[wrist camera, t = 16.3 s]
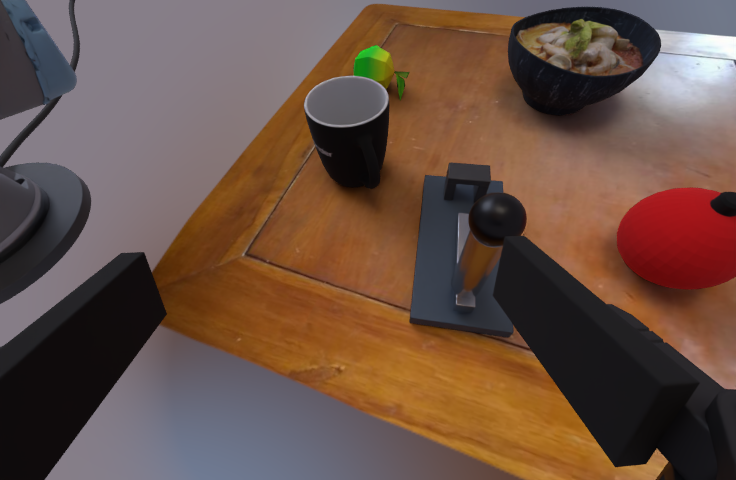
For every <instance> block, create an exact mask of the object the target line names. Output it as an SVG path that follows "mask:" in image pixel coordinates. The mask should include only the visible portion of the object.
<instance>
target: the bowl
mask: <svg viewBox="0 0 736 480" xmlns="http://www.w3.org/2000/svg"><path fill="white" fill-rule="evenodd" d="M660 48H661V40H660V37H659V34H658V33H657V32H656V30H655V29H654V28H652V27H651V26H650V25H649V24H648V23H646V22H645V21H644V20H642V19H640V18H639V17H637V16H634V15H632V14H629V13H626V12H623V11H620V10H615V9H609V8H602V7H573V8H562V9H556V10H549V11H545V12H541V13H537V14H534V15H531V16H528V17H525V18H523V19H521V20H520V21H518V22H516V23H515V24H514V25H513V26H512V29H511V34H510V38H509V44H508V59H509V65H510V69H511V72H512V74H513V76H514V79H515V81H516V82H517V84H518V85H519V87H520V88H521V89H522V92H523V96H524V99H525V101H526V102H527V104H529V105H530V106H531V107H533V108H534V109H536V110H538V111H540V112H543V113H547V114H552V115H567V114H572V113H575V112H577V111H579V110H580V109H582V108H583V107H585V106H587V105H591V104H594V103H597V102H599V101H602V100H604V99H606V98H609V97H611V96H613V95H615V94H617V93H619V92H621V91H622V90H623V89H625V88H626V87H627V86H629V85H630V84H631V83H633V82H634V81H635V80H637V79H638V78H639V77H640V76H642V75H643V73H644V72H645V71H646V70H647V69H648V67H649V66H650V65H651V64H652V62H653V61H654V60H655V58H656V57H657V56H658V53H659V51H660Z"/></svg>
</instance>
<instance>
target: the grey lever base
mask: <svg viewBox="0 0 736 480" xmlns="http://www.w3.org/2000/svg"><path fill="white" fill-rule="evenodd" d="M497 192H499V193H503V182H502V181H491V177H490V166H488V165H475V164H462V163H449V166H448V170H447V175H446V177H443V176H431V175H425V180H424V189H423V198H422V208H421V218H420V227H419V237H418V246H417V256H416V265H415V275H414V285H413V294H412V304H411V313H410V323H414V324H421V325H428V326H434V327H441V328H448V329H455V330H461V331H468V332H475V333H482V334H488V335H495V336H502V337H509V336H510V335H512V334H513V332H514V331H513V324H512V322H511V321H510V319H509V318H508V317H507V315H506V314H505V312H504V311H503V310H502V308H501V307H500V305H499V304H498V303H497V301H496V300H495V298H494V297H493V291H494V286H495V281H496V276H497V271H498V267H499V262H500V258H499V260H498V262H497V263H496V265H495V267H494V269H493V270H492V272H491V274H490V275H489V277H488V279H487V281H486V282H485V284H484V286H483V287H482V289H481V291H480V293H479V294H478V295H477V296H475V308H474V310H473V311H472V313H465V312H457V311H453V300H454V290H453V288H452V286H451V280H452V277H453V274H454V267H455V234H456V220H457V216H458V213H466V214H469V213H470V210H471V208H472V206H473V205H474V203H475V202H476V201H477V200H478V199H480V198H481V197H483V196H485V195H487V194H490V193H497Z"/></svg>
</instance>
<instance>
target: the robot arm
mask: <svg viewBox="0 0 736 480" xmlns="http://www.w3.org/2000/svg"><path fill="white" fill-rule="evenodd" d="M74 3H75V0H70V2H69V14H70V21H71V25H72V31H73V37H74V51H73V57H72V61H71V64H70V65H69V63H68V62H67V60H66V59H65V57H64V56H63V54H62V53H61V51H60V50H59V48H58V47H57V46H56V44H55V43H54V41H53V40H52V38H51V37H50V35H49V34H48V32H47V31H46V30H45V28H44V27H43V25H42V24H41V22H40V21H39V19H38V18H37V16H36V15H35V14H34V12H33V11H32V9H31V8H30V6H29V5H28V4H27V2H26V1H25V0H0V119H3V118H6V117H9V116H12V115H15V114H18V113H20V112H23V111H26V110H29V109H32V108H34V107H37V106H40V105H45V104H47V105H46V106H45V107H44V108H43V109H42V111H41V112H40V113H39V114H38V115H37V116H36V117H35V118H34V119H33V121H31V122H30V123H29V125H28V126H27V127H26V128H25V129H24V130H23V131H22V132H21V133H20V134H19V135H18V136H17V137H16V138H15V139H14V140H13V141H12V143H11V144H10V145H9V146H8V147H7V148H6V150H5V151H4V152H3V153H2V154H1V156H0V264H1V263H2V262H4V261H5V260H7V259H8V258H9V257H11V256H12V255H13V254H15V253H16V252H17V251H18V250H19V249H21V248H22V247H23V246H24V245H25V244H26V243H27V242H28V241H29V240H30V239H31V238H32V237H33V236H34V234H35V233H36V232H37V231H38V229H39V228H40V226H41V225H42V223H43V221H44V220H45V218H46V215H47V212H48V209H49V198H48V195H47V193H46V192H45V191H44V190H43V189H42V188H41V187H40V186H38V185H37V184H36V183H34V182H33V181H31V180H30V179H29V178H27V177H25V176H23V175H20V174H18V173H15V172H13V171H10V170H8V169H5V168H3V166H4V165H5V164H6V162H7V161H8V160H9V158H10V157H11V156H12V155H13V153H14V152H15V151H16V150H17V148H18V147H19V146H20V145H21V143H22V142H23V141H24V140H25V139H26V138H27V137H28V136H29V135H30V134H31V133H32V132H33V131H34V130H35V128H36V127H37V126H38V125H39V124H40V123H41V122H42V121H43V120H44V119H45V118H46V117H47V115H48V114H49V113H50V112H51V110H52V109H53V108H54V107H55V105H56V104H57V102H58V101H59V99H60V98H61V97H62V95H63V94H65V93H67V92H69V91H71V90H72V89H74V87H75V85H76V82H77V79H76V75H75V69H76V66H77V63H78V59H79V52H80V41H79V35H78V30H77V25H76V21H75V15H74ZM493 297H494V298H495V300H496V301H497V303H498V304H499V305H500V307H501V308H502V310H503V311H504V312H505V314H506V315H507V317H508V318H509V319H510V321H511V322H512V324H513V325H514V326H515V328H516V329H517V331H518V332H519V333H520V335H521V336H522V337H523V339H524V340H525V342H526V343H527V344H528V346H529V347H530V349H531V350H532V351H533V353H534V354H535V356H536V357H537V358H538V360H539V361H540V363H541V364H542V365H543V367H544V368H545V370H546V371H547V372H548V374H549V375H550V377H551V378H552V379H553V381H554V382H555V384H556V385H557V386H558V388H559V389H560V391H561V392H562V393H563V395H564V396H565V398H566V399H567V400H568V402H569V403H570V405H571V406H572V407H573V409H574V410H575V412H576V413H577V414H578V416H579V417H580V419H581V420H582V421H583V423H584V424H585V426H586V427H587V428H588V430H589V431H590V432H591V434H592V435H593V437H594V438H595V439H596V441H597V442H598V444H599V445H600V446H601V448H602V449H603V451H604V452H605V453H606V455H607V456H608V458H609V459H610V460H611V462H612V463H613V465H614V466H615V467H621V466H631V465H641V464H646V463H647V462H648V460H649V459H650V457H651V456H652V454H653V453H654V451H655V450H656V448H657V449H658V450H659V451H660V452H661V453H662V454H663V455H664V457H665V458H666V459H667V460H668V461H669V462H668V463H667V465H666V466H665V467H664V469H663V470H662V472H661V473H660V474H659V476H658V477H657V479H656V480H736V390H734V389H724V388H723V387H722V386H720V385H719V384H718V383H717V382H715V381H714V380H713V379H712V378H710V377H709V376H708V375H707V374H705V373H704V372H703V371H702V370H700V369H699V368H698V367H697V366H695V365H694V364H693V363H692V362H690V361H689V360H688V359H687V358H685V357H684V356H683V355H682V354H680V353H679V352H678V351H677V350H675V349H674V348H673V347H672V346H670V345H669V344H668V343H664V342H663V339H661V338H660V337H659V336H658V335H656V334H655V333H654V332H653V331H649V328H648V327H646V326H645V325H644V324H643V323H641V322H640V321H639V320H638V319H636V318H635V317H634V316H633V315H631V314H629V313H627V312H625V311H623V310H622V309H620V308H618V307H616V306H614V305H612V304H605V303H604V302H603V301H602V300H601V299H599V298H598V297H597V296H596V295H595V294H593V293H592V292H591V291H590V290H589V289H587V288H586V287H585V286H584V285H583V284H581V283H580V282H579V281H578V280H577V279H575V278H574V277H573V276H572V275H571V274H569V273H568V272H567V271H566V270H565V269H563V268H562V267H561V266H560V265H559V264H557V263H556V262H555V261H554V260H553V259H551V258H550V257H549V256H548V255H547V254H545V253H544V252H543V251H542V250H541V249H539V248H538V247H537V246H536V245H535V244H533V243H532V242H531V241H530V240H529V239H527V238H526V237H525V236H505V238H504V242H503V247H502V252H501V257H500V262H499V267H498V271H497V276H496V281H495V286H494V291H493ZM166 315H167V313H166V310H165V308H164V305H163V302H162V300H161V297H160V294H159V291H158V289H157V286H156V283H155V281H154V278H153V275H152V272H151V270H150V267H149V264H148V262H147V259H146V256H145V254H144V252H137V253H121V254H120V255H118V256H117V257H116V258H114V259H113V260H112V261H111V262H110V263H108V264H107V265H106V266H104V267H103V268H102V269H101V270H99V271H98V272H97V273H96V274H94V275H93V276H92V277H90V278H89V279H88V280H87V281H85V282H84V283H83V284H82V285H80V286H79V287H78V288H77V289H75V290H74V291H73V292H71V293H70V294H69V295H68V296H66V297H65V298H64V299H63V300H61V301H60V302H59V303H58V304H56V305H55V306H54V307H52V308H51V309H50V310H49V311H47V312H46V313H45V314H44V315H42V316H41V317H40V318H39V319H37V320H36V321H35V322H33V323H32V324H31V325H30V326H28V327H27V328H26V329H25V330H24V331H22V332H21V333H20V334H18V335H17V336H16V337H14V338H13V339H12V340H11V341H9V342H8V343H7V344H5V345H4V346H2V347H0V480H45V478H46V477H47V476H48V474H49V473H50V472H51V470H52V469H53V467H54V466H55V465H56V463H57V462H58V461H59V459H60V458H61V457H62V455H63V453H65V451H66V450H67V449H68V447H69V446H70V444H71V443H72V442H73V440H74V439H75V438H76V436H77V435H78V434H79V432H80V431H81V429H82V428H83V427H84V426H85V424H86V423H87V421H88V420H89V419H90V417H91V416H92V415H93V413H94V412H95V411H96V409H97V408H98V407H99V405H100V404H101V403H102V401H103V400H104V398H105V397H106V396H107V394H108V393H109V392H110V390H111V389H112V388H113V386H114V385H115V383H116V382H117V381H118V380H119V378H120V377H121V375H122V374H123V373H124V371H125V370H126V369H127V367H128V366H129V365H130V363H131V362H132V361H133V359H134V358H135V356H136V355H137V354H138V352H139V351H140V350H141V348H142V347H143V345H144V344H145V343H146V342H147V340H148V339H149V338H150V336H151V335H152V333H153V332H154V331H155V329H156V328H157V327H158V325H159V324H160V323H161V321H162V320H163V319H164V317H165V316H166Z"/></svg>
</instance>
